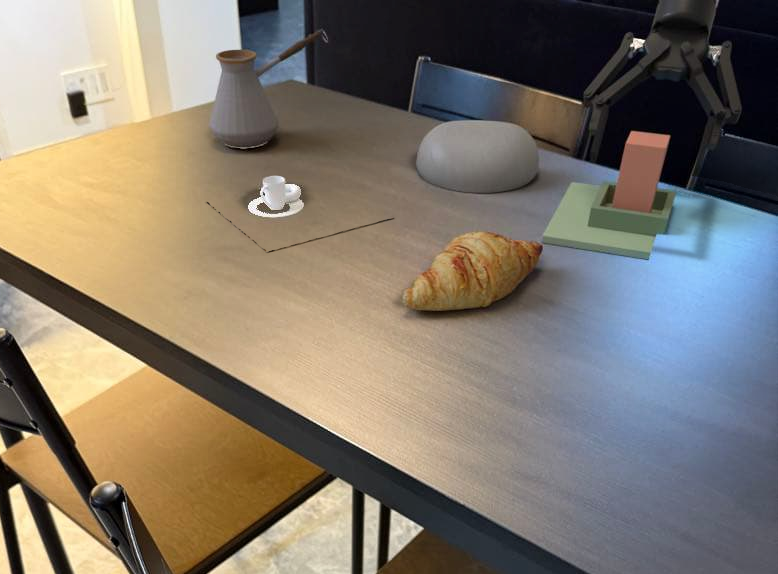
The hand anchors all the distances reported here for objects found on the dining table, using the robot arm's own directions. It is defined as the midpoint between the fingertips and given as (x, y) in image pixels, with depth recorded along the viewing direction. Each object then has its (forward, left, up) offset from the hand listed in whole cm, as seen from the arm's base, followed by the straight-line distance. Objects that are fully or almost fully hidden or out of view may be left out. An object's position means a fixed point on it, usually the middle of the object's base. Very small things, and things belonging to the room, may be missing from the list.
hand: (643, 164), depth 102 cm
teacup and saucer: (+45, +14, -7) cm, 48 cm away
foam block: (0, +2, -6) cm, 7 cm away
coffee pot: (+62, -12, -7) cm, 64 cm away
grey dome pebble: (+25, -9, -7) cm, 28 cm away
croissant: (+15, +28, -7) cm, 33 cm away
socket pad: (0, +2, -7) cm, 8 cm away
